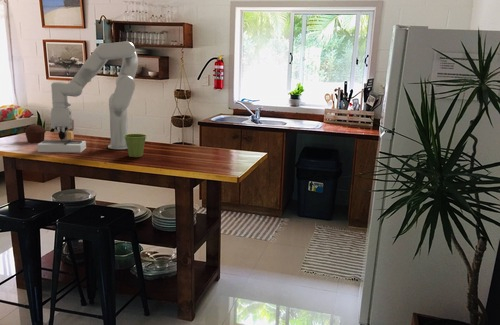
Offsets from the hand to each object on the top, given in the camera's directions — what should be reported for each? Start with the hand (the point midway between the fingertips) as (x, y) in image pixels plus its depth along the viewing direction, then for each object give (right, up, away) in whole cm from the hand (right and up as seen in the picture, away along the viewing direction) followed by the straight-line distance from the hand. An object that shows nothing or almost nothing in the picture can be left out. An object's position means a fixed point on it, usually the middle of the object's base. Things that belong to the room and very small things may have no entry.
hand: (62, 138), depth 232 cm
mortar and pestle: (-10, 0, +25) cm, 27 cm away
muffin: (-24, -1, +19) cm, 30 cm away
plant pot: (+42, -10, -5) cm, 43 cm away
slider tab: (+4, -2, +1) cm, 5 cm away
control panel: (0, -6, +2) cm, 6 cm away
